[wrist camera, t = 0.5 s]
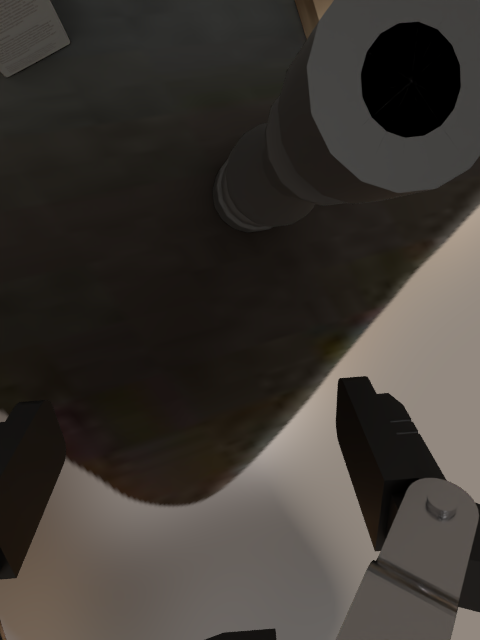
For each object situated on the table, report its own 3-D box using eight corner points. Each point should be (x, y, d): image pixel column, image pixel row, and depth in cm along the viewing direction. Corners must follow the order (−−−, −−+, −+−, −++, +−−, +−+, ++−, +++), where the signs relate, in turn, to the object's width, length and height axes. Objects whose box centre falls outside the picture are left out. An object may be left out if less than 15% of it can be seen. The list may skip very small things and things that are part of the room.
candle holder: (246, 248, 36) (391, 250, 12) (196, 189, 35) (246, 58, 11) (301, 198, 36) (558, 100, 12) (253, 138, 35) (434, -111, 11)
